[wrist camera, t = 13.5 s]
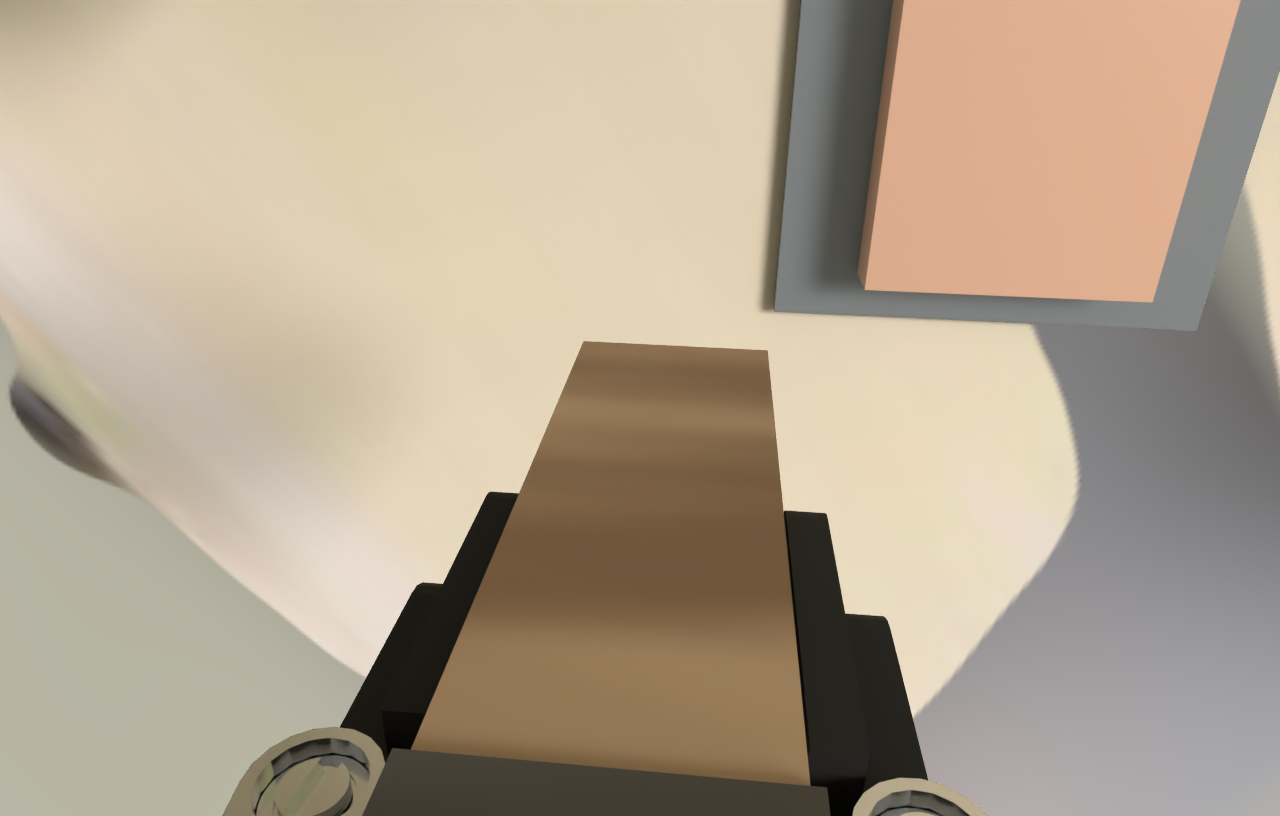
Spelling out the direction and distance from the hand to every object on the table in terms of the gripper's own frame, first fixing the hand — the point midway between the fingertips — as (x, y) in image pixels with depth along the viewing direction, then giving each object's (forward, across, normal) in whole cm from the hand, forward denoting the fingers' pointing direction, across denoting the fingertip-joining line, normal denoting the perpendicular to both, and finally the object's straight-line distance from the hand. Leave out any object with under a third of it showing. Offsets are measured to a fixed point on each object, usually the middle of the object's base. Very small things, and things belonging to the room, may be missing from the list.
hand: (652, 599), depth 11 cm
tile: (+22, -11, -9) cm, 26 cm away
